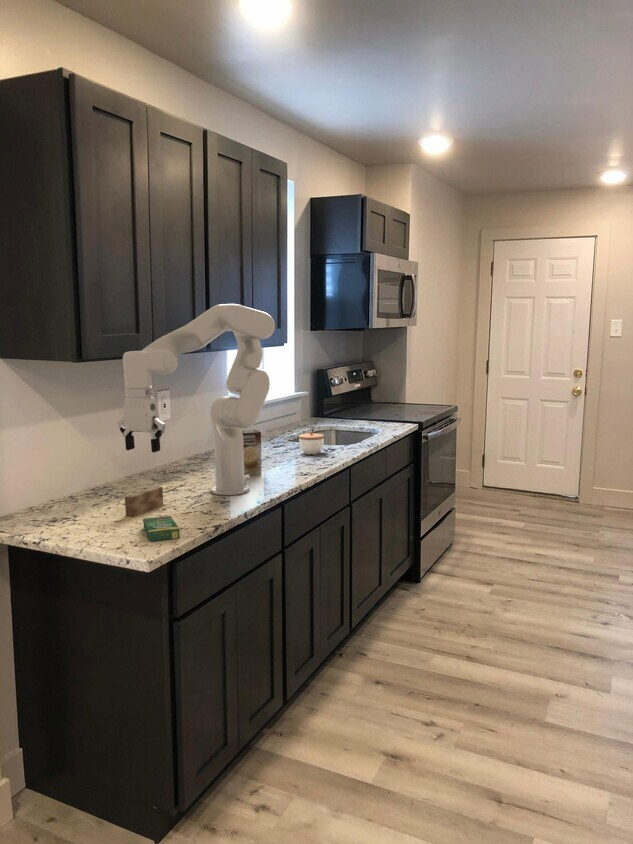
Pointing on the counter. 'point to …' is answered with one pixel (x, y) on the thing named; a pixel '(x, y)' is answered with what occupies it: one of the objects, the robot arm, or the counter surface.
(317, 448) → the lidded jar
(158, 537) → the coffee box
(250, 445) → the coffee box
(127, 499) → the brown rectangular block
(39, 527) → the counter surface
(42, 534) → the counter surface
